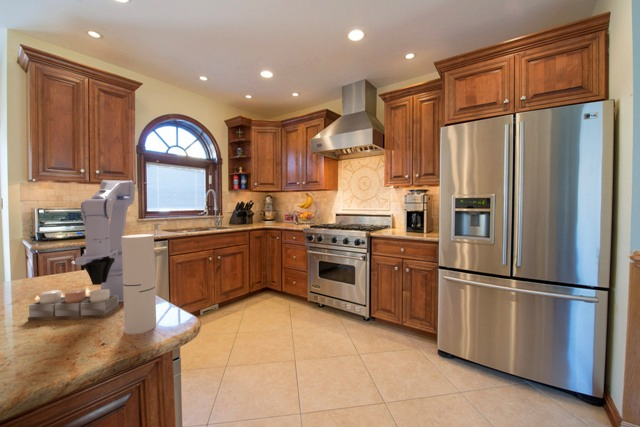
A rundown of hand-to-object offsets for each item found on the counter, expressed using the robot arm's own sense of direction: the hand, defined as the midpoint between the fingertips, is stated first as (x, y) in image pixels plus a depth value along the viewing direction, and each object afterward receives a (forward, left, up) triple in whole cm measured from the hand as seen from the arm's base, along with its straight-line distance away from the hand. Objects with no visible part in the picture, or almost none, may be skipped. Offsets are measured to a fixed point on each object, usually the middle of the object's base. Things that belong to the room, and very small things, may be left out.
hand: (99, 283), depth 82 cm
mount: (+7, +1, -9) cm, 12 cm away
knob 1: (+14, +1, -6) cm, 15 cm away
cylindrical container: (-19, +9, -10) cm, 23 cm away
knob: (0, 0, -6) cm, 6 cm away
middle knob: (+7, +1, -6) cm, 9 cm away
